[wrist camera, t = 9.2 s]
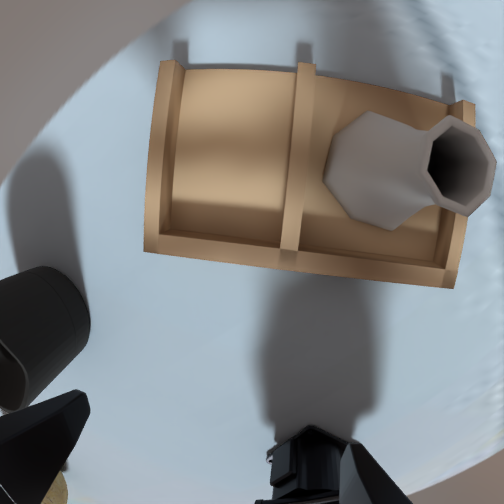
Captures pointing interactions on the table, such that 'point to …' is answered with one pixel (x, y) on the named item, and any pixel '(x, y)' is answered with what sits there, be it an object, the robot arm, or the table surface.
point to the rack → (282, 176)
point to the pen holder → (37, 333)
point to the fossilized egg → (57, 491)
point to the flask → (407, 169)
